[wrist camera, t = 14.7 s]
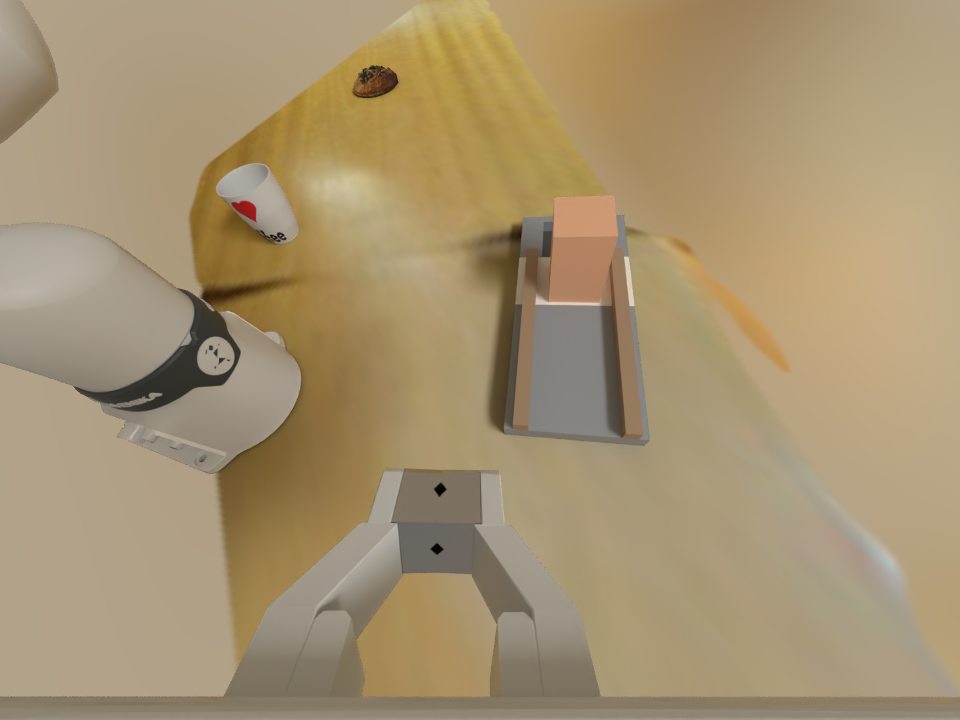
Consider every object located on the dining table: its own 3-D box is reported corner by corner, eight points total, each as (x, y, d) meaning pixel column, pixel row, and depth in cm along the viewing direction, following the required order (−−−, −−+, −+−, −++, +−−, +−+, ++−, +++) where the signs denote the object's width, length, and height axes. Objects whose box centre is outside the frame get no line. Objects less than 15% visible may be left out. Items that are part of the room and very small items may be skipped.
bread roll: (404, 88, 80) (393, 62, 76) (362, 110, 80) (350, 86, 76) (393, 73, 86) (383, 48, 81) (355, 94, 86) (343, 71, 82)
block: (548, 302, 42) (553, 237, 33) (549, 265, 44) (554, 197, 36) (599, 302, 41) (618, 236, 32) (597, 265, 43) (614, 195, 35)
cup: (253, 243, 58) (205, 190, 50) (286, 214, 61) (246, 159, 53) (284, 256, 56) (239, 202, 47) (317, 224, 59) (280, 168, 50)
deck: (504, 434, 36) (502, 423, 33) (523, 228, 51) (522, 208, 48) (643, 445, 34) (654, 435, 31) (620, 226, 49) (626, 205, 46)
